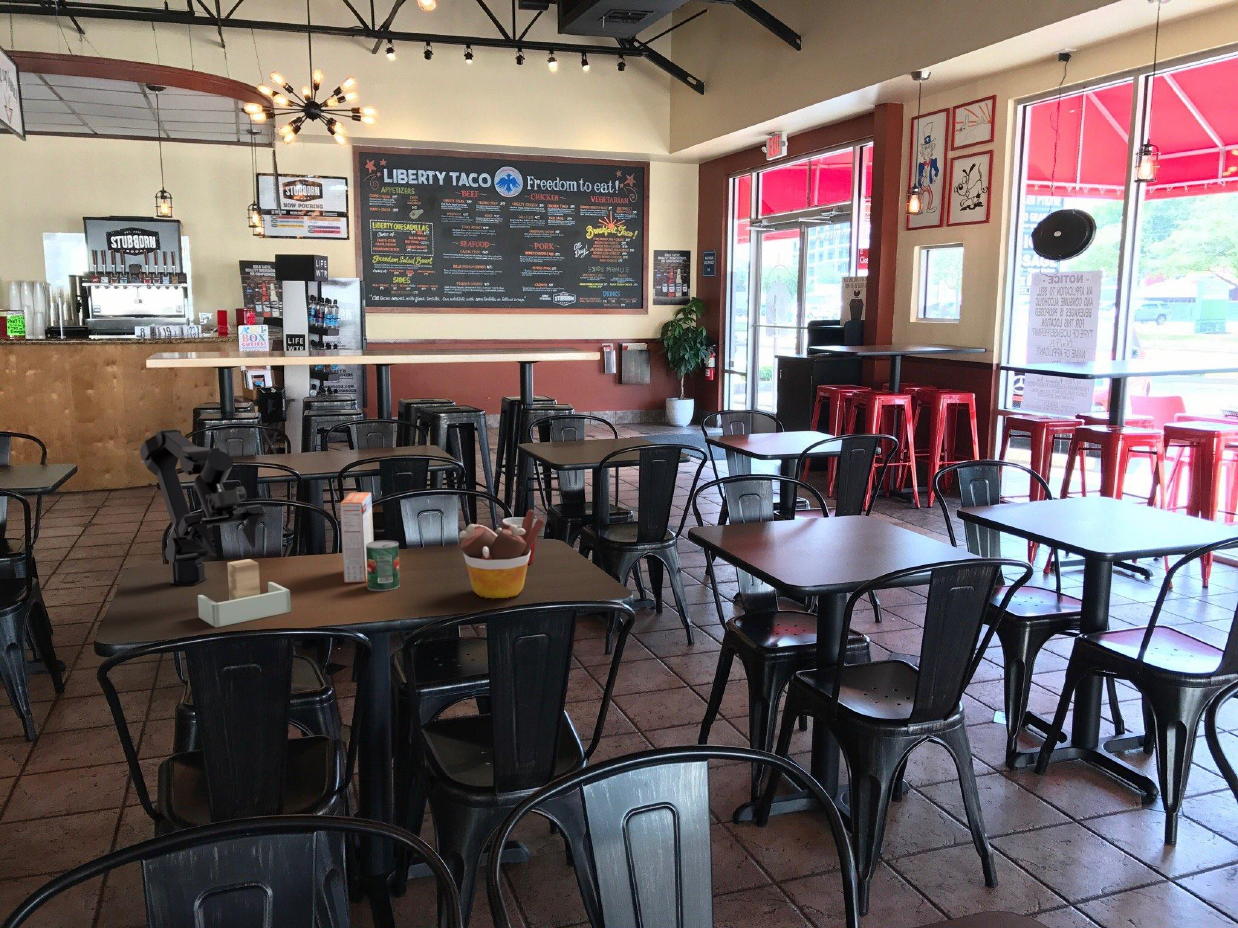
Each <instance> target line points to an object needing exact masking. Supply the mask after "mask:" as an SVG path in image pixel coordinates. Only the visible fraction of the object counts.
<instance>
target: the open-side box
mask: <svg viewBox="0 0 1238 928" xmlns="http://www.w3.org/2000/svg"><path fill="white" fill-rule="evenodd" d="M267 590H268V592H266V593H262V594H261V593H260V595H256V596H250V597H245V598H240V599H235V600H225V601H220V602H216V601H214V600H213V599H211V598H209V597H207V596H205V595H203V594H199V595H197V604H198V606H197V607H198V608H197V609H198V618H200V619H201V620H203V621H204V622H205V623H208V624H209V625H210V626H212V627H214V628H219V627H225V626H230V625H233V624H239V623H243V622H248V621H253V620H258V619H262V618H266V617H272V616H278V615H282V614H286V613H290V612H292V605H291V604H292V603H291V590H290V589H288V588H286V587H283V586H282V585H280V584H277V583H275V582H273V581H268V582H267Z"/></svg>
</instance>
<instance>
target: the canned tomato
mask: <svg viewBox="0 0 1238 928" xmlns="http://www.w3.org/2000/svg"><path fill="white" fill-rule="evenodd" d="M399 551H400V550H399V542H398V541H395V540H376V541H374V540H373V542H370V543H367V544H366V557H367V558H366V559H367V581H366V583H367V587H366V589H368V591H371V592H372V591H373V592H388V590H389V591H394V590H397V589H398V587H399V588H400V586H401V584H400V554H399V553H400V552H399ZM393 589H394V590H393Z"/></svg>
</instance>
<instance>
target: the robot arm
mask: <svg viewBox="0 0 1238 928" xmlns="http://www.w3.org/2000/svg"><path fill="white" fill-rule="evenodd" d="M139 450H140V451H139V453H140V454H139V455H140V457H141V458H140V459H141V460H142V461H143V462H144V464H145V467H146V469H147V470H149V472H151V473H152V474H153V475H154V476H156V478H157V480H158V481H157V482H158V484H159V487H160V490H161V493H162V494H161V495H162V496H163V499H164V500H163V501H164V502H165V505H166V509H167V512H168V516H169V518H170V521H171V524H172V526H171V529H170V533H169V536H168V538H169V541H168V543H167V546H166V548H165V551H164V553H165V558H166V560H167V561H169V562H171V563H172V565H171V566H172V576H173V577H172V579H173V580H172V581H170V582H169V585H174V586H175V585H176V586H195V585H197V584H199V583H202V582H203V580H204V581H205V580H207V579H208V578H207V576H206V575H205V573H206V572H205V564H204V562H203V558H208V555H209V554H210V555H212V556H216V554H217V551H216V548H215V545H214V543H213V541H212V539H211V537H210V535H209V533H208V527H212V526H219V525H226V524H232V523H240V524H241V526H242V527H243V528H242V531H243V534H244V536H245V537H246V540H247V543H248V544H249V546H250V547H251V549H253V550H254V549H255V547H256V529H257V526H260V525H261V523H262V521H263V519H264V517H265V515H266V513H267V512H266V510H265V508H264V506H263V505H261V504H253V505H247V506H245V508H244V509H243V510H242V512H238V513H234V512H235V511H236V510H238V506H237V505H238V504H241V502H243V501H245V500H246V499H247V498H248V496H247V490H246V488H245V487H244V486H243V485H241V486H236V487H234V488H233V489H231V490H226V489H225V488H224V486H223V483H225V481H226V480H227V478H228V476H229V474H230V472H231V470H232V468H233V465H234V459H233V457H231V455H230V454H228V453H226V452H224V451H222V450H221V449H220V447H210V448H207V447H204V446H203V447H202V446H197V445H195V444H194V443H193V442H192V441H190V440H189V439H188V438H187V437H186V436H184V435H183V434H182V431H181V430H180V429H177V428H174V429H173V428H171V429H170V428H169V429H161V430H158V431H157V432H156V433H155V435H153V436H151V437H149V438H148V439H146V440H144V442H143V444H142V445H141V446H140V448H139ZM179 461H180V469H181V470H182V471H183V472H184V473H185V475H187V476H196V475H197V476H196V477H195V478H194V481H193V486H192V487H193V488H192V489H193V491H194V492H196V493H197V495H198V498H199V500H200V503H201V504H200V505H201V506H200V509H201V511H204V513H205V515H206V517H203V514H202V513H200V512H196V513H191V511H190V507H189V505H188V502H187V499H186V496H185V492H184V490H183V487H182V483H181V481H180V477H179V475H178V472H177V468H176V467H177V465H178V462H179ZM201 581H202V582H201Z"/></svg>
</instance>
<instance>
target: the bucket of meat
mask: <svg viewBox="0 0 1238 928" xmlns="http://www.w3.org/2000/svg"><path fill="white" fill-rule="evenodd" d="M535 515H536V512H535V511H534V510H533V509H528V510H527V512H526V516H524V517H523V518H524V519H523V522H522V528H520V527H517V526H515V525H513V524H512V525H510V528H509V529H507V530H506V529H505V528H502V527H498V528H497V529H495V531H493V530H492V529H490V528H489V527H487V526H485V525H480V524H477V523H475V524H474V523H471V524H468V525H467V526H466V528H465V530H462V531H460V532H459V536H458V537H459V538H460V539H462V540H461V541H460V544H459V548H460V549H461V551H462V554H463V558H464V559H465V564H466V569H467V572H468V575H469V580H470V584H471V585H470V586H471V588H472V591H473V592H474V593H475V594H476V595H477V596H478V595H479V596H478V597H480V598H481V597H485V598H484V599H487V598H493V599H492V600H495V599H494V598H507V599H510V598H509V597H511V598H514V596H515V597H517V596H518V595H519V594H520V593H521V591H522V590H523V589H524V585H525V582H526V581H525V580H526V575H527V569H528V566H529V565H528V561H529V556H530V553H531V550H530V549H531V547H532V546H533V544H534V542H535V540H536V538H537V539H538V537H539V534H540V533H541V530H542V529H543V527H544V525H545V520H544V518H538V519H536V522H535V524H534V526H533V522H534V519H535ZM532 527H533V528H532Z"/></svg>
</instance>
